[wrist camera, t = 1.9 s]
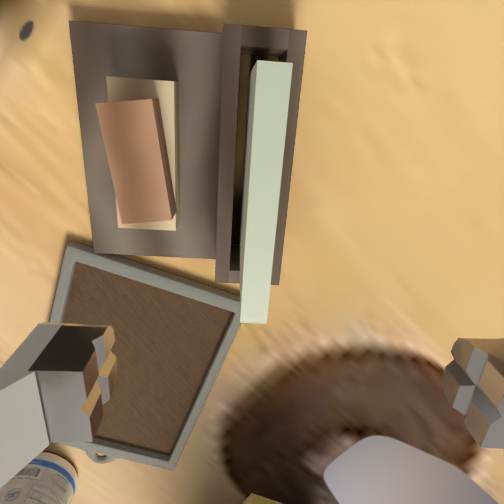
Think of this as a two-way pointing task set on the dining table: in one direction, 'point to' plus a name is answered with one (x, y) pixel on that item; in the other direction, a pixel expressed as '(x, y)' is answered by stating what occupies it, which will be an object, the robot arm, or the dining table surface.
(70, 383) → the robot arm
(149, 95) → the offcut lower
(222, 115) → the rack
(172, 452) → the grey brown flat frame
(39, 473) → the supplement tub
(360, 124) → the dining table surface
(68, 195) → the dining table surface
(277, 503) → the yellow product box
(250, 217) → the grey-green rectangular panel
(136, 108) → the offcut upper
